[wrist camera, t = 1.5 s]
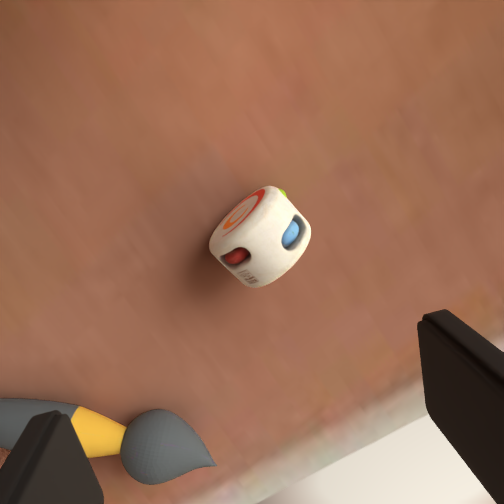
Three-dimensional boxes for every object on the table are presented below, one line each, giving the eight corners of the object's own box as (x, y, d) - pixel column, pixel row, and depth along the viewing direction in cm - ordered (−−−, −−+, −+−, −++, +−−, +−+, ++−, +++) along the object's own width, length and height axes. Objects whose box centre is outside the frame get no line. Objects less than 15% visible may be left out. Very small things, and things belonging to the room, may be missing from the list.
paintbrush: (-43, 441, 31) (-86, 498, 27) (-47, 386, 30) (-94, 436, 25) (214, 448, 34) (216, 501, 30) (221, 398, 33) (224, 445, 28)
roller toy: (309, 219, 29) (333, 243, 24) (243, 278, 30) (252, 314, 24) (268, 173, 28) (283, 187, 22) (200, 236, 29) (199, 264, 23)
